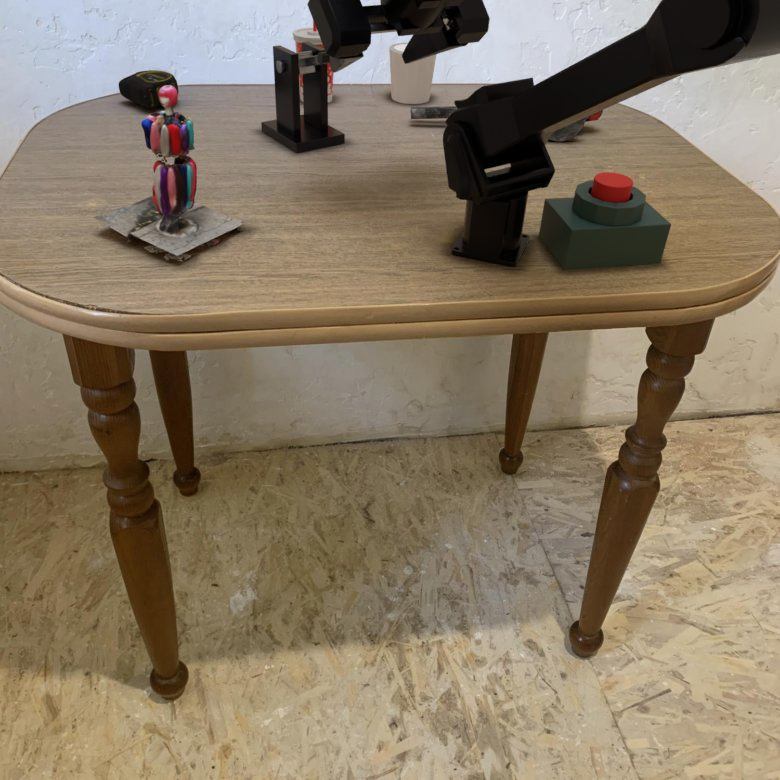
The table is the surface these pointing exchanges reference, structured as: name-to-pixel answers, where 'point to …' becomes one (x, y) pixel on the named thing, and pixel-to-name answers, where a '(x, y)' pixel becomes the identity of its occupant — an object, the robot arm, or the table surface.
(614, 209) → the button box
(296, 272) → the table surface
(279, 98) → the bracket
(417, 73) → the white tapered cup
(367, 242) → the table surface
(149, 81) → the tape measure
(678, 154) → the table surface
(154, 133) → the statue
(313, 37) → the beverage cup
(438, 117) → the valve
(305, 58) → the lever
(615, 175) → the button
